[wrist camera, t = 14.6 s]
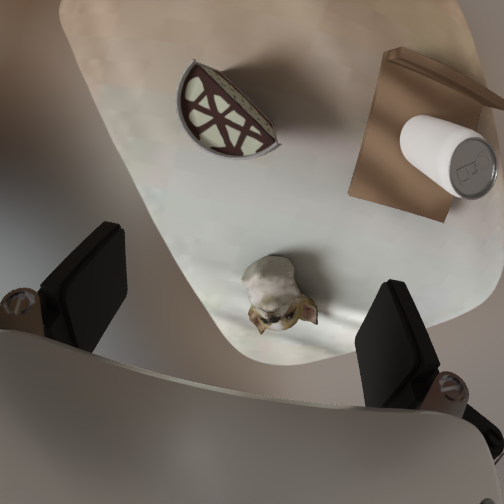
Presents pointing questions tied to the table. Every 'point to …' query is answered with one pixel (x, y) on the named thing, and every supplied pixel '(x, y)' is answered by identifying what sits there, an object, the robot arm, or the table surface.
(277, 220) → the table surface
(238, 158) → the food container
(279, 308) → the ceramic sculpture
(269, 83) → the table surface
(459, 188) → the can
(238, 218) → the table surface
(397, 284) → the robot arm
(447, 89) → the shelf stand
